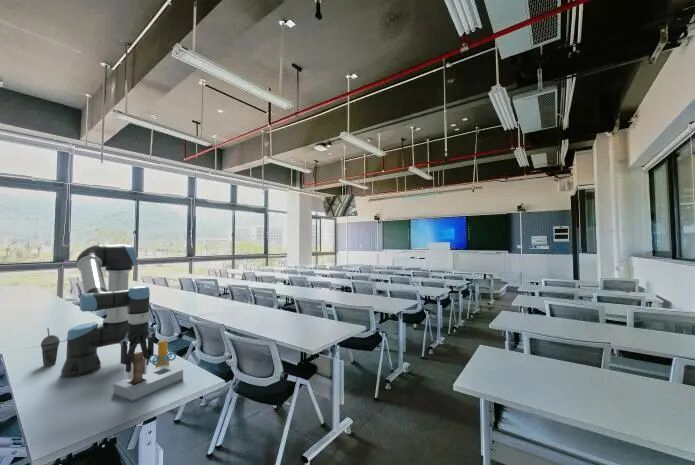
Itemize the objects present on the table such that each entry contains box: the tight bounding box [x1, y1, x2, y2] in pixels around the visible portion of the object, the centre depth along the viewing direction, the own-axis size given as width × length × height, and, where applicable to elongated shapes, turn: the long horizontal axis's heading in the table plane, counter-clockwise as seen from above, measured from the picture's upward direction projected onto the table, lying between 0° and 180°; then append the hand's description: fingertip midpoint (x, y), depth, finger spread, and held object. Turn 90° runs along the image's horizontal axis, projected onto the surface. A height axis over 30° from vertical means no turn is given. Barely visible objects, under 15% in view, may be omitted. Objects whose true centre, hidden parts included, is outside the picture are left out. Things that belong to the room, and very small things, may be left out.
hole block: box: [112, 365, 184, 404], centre depth 133 cm, size 14×22×5 cm, turn 155°
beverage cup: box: [40, 327, 61, 367], centre depth 159 cm, size 7×7×20 cm
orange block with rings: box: [149, 339, 177, 368], centre depth 152 cm, size 12×10×15 cm
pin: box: [131, 351, 144, 385], centre depth 128 cm, size 4×4×16 cm
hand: (137, 376), depth 128 cm, fingers open, 5 cm apart
